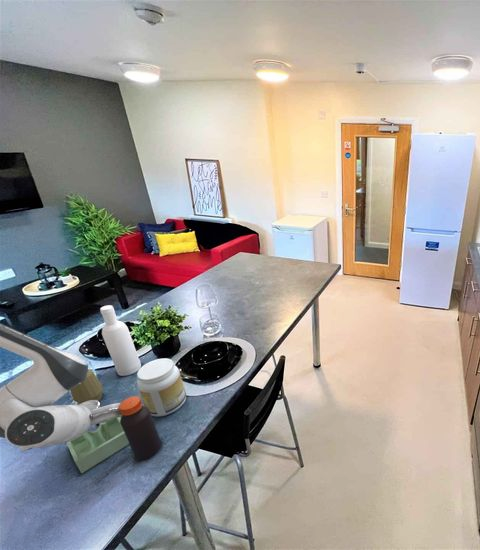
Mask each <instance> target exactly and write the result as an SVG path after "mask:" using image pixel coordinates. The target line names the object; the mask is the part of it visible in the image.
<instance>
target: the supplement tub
mask: <svg viewBox="0 0 480 550" xmlns="http://www.w3.org/2000/svg"><path fill="white" fill-rule="evenodd" d="M136 372H137V373H136V376H137V382H136V387H137V389H138V392H139V395H140V397H141V401H142V403H143V406H146V407H148V409H149V411H150V413H151V416H152V417H164V416H168V415H171V414H172V413H174V412H176V411H177V410H179V409H180V408H181V407H182V406H183V405H184V404H185V402H186V400H187V392H186V389H185V386H184V383H183V382H184V381H183V379H182V375H181V372H180V369H179V368H178V366H177V365H175V363H174V361H173V359H170V358H167V357H165V358H163V357H162V358H156V359H153V360H151V361H149V362H146V363H145V364H143V365H141V367H140V369H139V370H138V371H136Z"/></svg>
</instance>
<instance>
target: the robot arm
mask: <svg viewBox="0 0 480 550" xmlns="http://www.w3.org/2000/svg"><path fill="white" fill-rule="evenodd" d="M0 348H2V349H4V350H7V351H9V352H12V353H13V354H16V355H19V356H20V357H24V358H26V359H28V360H30V361H32V362H33V364H32V365H31V366H30V367H29V368H27V369H26V370H24V372H22V373H21V374H19V375H18V376H16V377H15V378H14V379H12V380H11V381H9V382H8V383H6V384H4V385H2V387H0V438H2V439H6V441H7V442H8V443H9V444H10V445H13V446H14V447H17V448H19V449H20V451H21V452H23V451H29V450H33V449H41V448H46V447H50V446H51V447H52V446H53V445H60V444H65V443H66V442H69V441H72V440H75V439H77V438H78V437H80V436H81V435H83V434H84V433H85V432H86V431H87V429H88V428H89V426H92V425H95V424H98V423H102V422H105V421H108V420H111V419H114V418H117V417H122V416H123V415H122V414H121V412H120V410H119V405H120V404H121V402H116V403H110V404H107V405H103V406H102V407H100V408H97V409H93V410H89V409H88V408H87V407H85V406H82V405H79V404H54V403H55V402H57V401H58V400H59V399H61V398H62V397H64V396H65V395H66V394H67V393H68V392H71V391H70V390H71V389H73V388H74V387H76V386H77V385H79V384H80V383H81V382H83V381H84V380H85V378H86V376H87V372H88V369H89V365H88V363H87V362H86V360H84V359H83V358H82V357H80V356H79V355H77V354H74V353H72V352H68V351H66V350H62V349H59V348H57V347H54V346H52V345H50V344H48V343H45V342H44V341H41V340H38V339H37V338H34V337H32V336H30V335H28V334H25V333H23V332H21V331H19V330H17V329H14V328H12V327H9V326H8V325H5V324H3V323H0Z"/></svg>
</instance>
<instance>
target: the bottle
mask: <svg viewBox="0 0 480 550" xmlns="http://www.w3.org/2000/svg"><path fill="white" fill-rule="evenodd" d="M99 310H100V314H101V315H102V318H103V321H104V323H105V325H104V326H103V327H102V329H101V335H102V338H103V342H104V343H105V346H106V348H107V350H108V353H109V355H110V358H111V360H112V363H113V366H114V369H115V371H116V372H117V374H118V376H121V377H126V376H131V375H132V374H135V373H136V372H138V371H139V369H140V368H141V367H142V363H141V360H140V358H139V355H138V352H137V350H136V347H135V344H134V340H133V338H132V335H131V333H130V330H129V326H127V324H126V323H125V322H124V321H120V320H118V317H117V315H116V312H115V308H114V306H113V305H112V304H111V305H110V304H109V305H108V304H107V305H104V306H101V307H100V308H99Z"/></svg>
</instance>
